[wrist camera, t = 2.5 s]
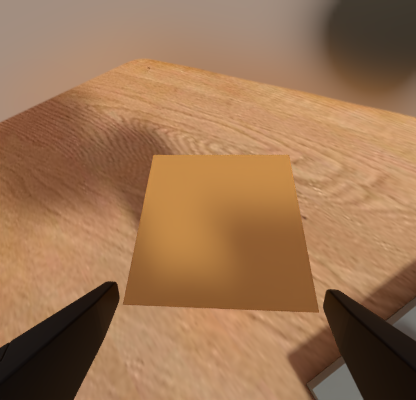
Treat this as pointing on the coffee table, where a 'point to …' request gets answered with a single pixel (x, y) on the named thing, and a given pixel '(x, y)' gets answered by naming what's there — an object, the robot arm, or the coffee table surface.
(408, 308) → the post board
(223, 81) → the coffee table surface
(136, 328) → the coffee table surface
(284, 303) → the tall amber pillar
